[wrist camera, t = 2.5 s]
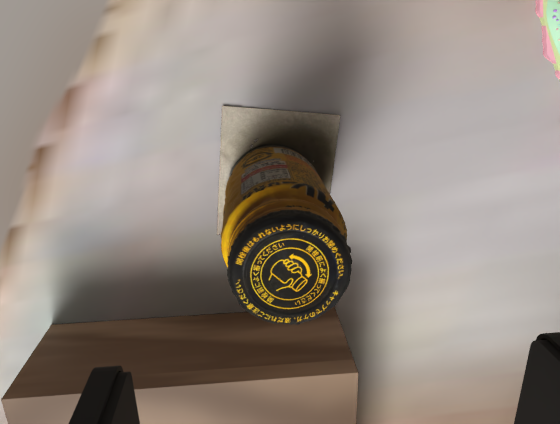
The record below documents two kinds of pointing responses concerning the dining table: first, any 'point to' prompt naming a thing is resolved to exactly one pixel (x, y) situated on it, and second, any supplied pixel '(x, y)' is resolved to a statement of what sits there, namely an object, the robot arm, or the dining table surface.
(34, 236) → the dining table surface
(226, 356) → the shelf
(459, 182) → the dining table surface
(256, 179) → the condiment
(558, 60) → the pastel sphere sculpture
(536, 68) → the dining table surface
